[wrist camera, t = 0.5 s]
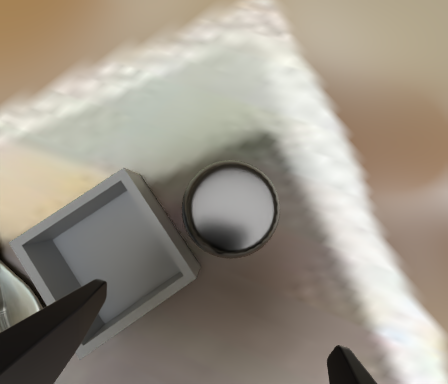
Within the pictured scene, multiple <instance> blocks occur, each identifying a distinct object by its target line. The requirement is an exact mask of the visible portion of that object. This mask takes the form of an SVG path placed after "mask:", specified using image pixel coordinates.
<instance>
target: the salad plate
mask: <svg viewBox="0 0 448 384" xmlns="http://www.w3.org/2000/svg"><path fill="white" fill-rule="evenodd" d="M41 309H43V307H42V305H41V304H40V302H39V300H38V298H37V297H36V295H35V294H34V293H33V291H32V290H31V289H30V287H29V286H28V285H27V284H26V283H25V282H24V281H23V280H22V279H20V278H19V277H18V276H17V275H16V274H15V273H14V272H13V271H11V270H10V269H9V268H8V267H7V266H6V265H5V264H4V263H3V262H2V261H1V260H0V332H2V331H4V330H6V329H7V328H9V327H11V326H13V325H14V324H16V323H18V322H20V321H22V320H23V319H25V318H27V317H29V316H30V315H32V314H34V313H36V312H38V311H39V310H41Z"/></svg>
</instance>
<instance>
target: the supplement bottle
mask: <svg viewBox="0 0 448 384" xmlns="http://www.w3.org/2000/svg"><path fill="white" fill-rule="evenodd" d="M182 216H183V221H184V225H185V228H186V230H187V232H188V234H189V236H190V237H191V238H192V240H193V241H194V242H195V243H196V244H197V245H198V246H199V247H200V248H201V249H203V250H204V251H206V252H208V253H210V254H212V255H214V256H217V257H221V258H230V259H231V258H241V257H245V256H248V255H250V254H253V253H255V252H256V251H258V250H259V249H261V248H262V247H263V246H264V245H265V244H266V243H267V242H268V241H269V240H270V238H271V237H272V235H273V234H274V232H275V230H276V228H277V225H278V221H279V216H280V203H279V198H278V194H277V191H276V189H275V187H274V185H273V183H272V182H271V180H270V179H269V178H268V177H267V176H266V175H265V174H264V173H263V172H262V171H261V170H259V169H258V168H256V167H255V166H253V165H251V164H248V163H246V162H242V161H236V160H226V161H220V162H216V163H213V164H211V165H209V166H207V167H205V168H204V169H202V170H201V171H200V172H199V173H197V174H196V175H195V176H194V178H193V179H192V180H191V182H190V183H189V185H188V187H187V189H186V191H185V194H184V197H183V202H182Z"/></svg>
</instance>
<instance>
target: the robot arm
mask: <svg viewBox="0 0 448 384" xmlns="http://www.w3.org/2000/svg"><path fill="white" fill-rule="evenodd" d="M106 297H107V282H106V281H104V280H100V279H94V280H92V281H91V282H89V283H87V284H85V285H84V286H82V287H80V288H78V289H76V290H75V291H73V292H71V293H69V294H68V295H66V296H64V297H62V298H61V299H59V300H57V301H55V302H53V303H52V304H50V305H48V306H46V307H45V308H43V309H41V310H39V311H38V312H36V313H34V314H32V315H30V316H29V317H27V318H25V319H23V320H22V321H20V322H18V323H16V324H14V325H13V326H11V327H9V328H7V329H6V330H4V331H2V332H0V384H53V383H54V382H55V381H56V379H57V378H58V376H59V375H60V373H61V372H62V371H63V369H64V368H65V366H66V365H67V363H68V362H69V361H70V359H71V358H72V356H73V355H74V353H75V352H76V350H77V349H78V347H79V346H80V344H81V343H82V341H83V339H84V338H85V336H86V334H87V332H88V331H89V329H90V327H91V325H92V324H93V322H94V320H95V318H96V317H97V315H98V313H99V311H100V310H101V308H102V306H103V304H104V302H105V300H106ZM327 367H328V375H329V383H330V384H377V383H376V382H375V380H374V379H373V378H372V376H371V375H370V374H369V373H368V371H367V370H366V369H365V368H364V366H363V365H362V364H361V363H360V361H359V360H358V359H357V357H356V356H355V355H354V354H353V352H352V351H351V350H350V349H349V348H347V347H343V346H340V345H337V346H336V347H335V348H334V350H333V351H332V352H331V354H330V355H329V357H328V359H327Z"/></svg>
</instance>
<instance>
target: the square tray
mask: <svg viewBox="0 0 448 384" xmlns="http://www.w3.org/2000/svg"><path fill="white" fill-rule="evenodd" d="M9 244H10V246H11V247H12V249H13V251H14V252H15V254H16V256H17V257H18V259H19V261H20V262H21V264H22V266H23V267H24V269H25V271H26V272H27V274H28V275H29V277H30V279H31V280H32V282H33V284H34V285H35V287H36V289H37V290H38V292H39V294H40V295H41V297H42V299H43V300H44V302H45V304H46V305H47V306H48V305H50V304H52V303H53V302H55V301H57V300H59V299H61V298H62V297H64V296H66V295H68V294H69V293H71V292H73V291H75V290H76V289H78V288H80V287H82V286H84V285H85V284H87V283H89V282H91V281H92V280H94V279H100V280H104V281H106V282H107V297H106V300H105V302H104V304H103V306H102V308H101V310H100V311H99V313H98V315H97V317H96V318H95V320H94V322H93V324H92V325H91V327H90V329H89V331H88V332H87V334H86V336H85V338H84V339H83V341H82V343H81V344H80V346H79V347H78V349H77V350H76V352H75V353H76V355H77V356H78V358H79V360H81V359H82V358H84V357H85V356H86V355H88V354H89V353H91V352H92V351H94V350H95V349H96V348H98V347H99V346H101V345H102V344H103V343H105V342H106V341H108V340H109V339H111V338H112V337H113V336H115V335H116V334H118V333H119V332H121V331H122V330H123V329H125V328H126V327H128V326H129V325H131V324H132V323H133V322H135V321H136V320H138V319H139V318H141V317H142V316H143V315H145V314H146V313H148V312H149V311H151V310H152V309H153V308H155V307H156V306H158V305H159V304H160V303H162V302H163V301H165V300H166V299H168V298H169V297H170V296H172V295H173V294H175V293H176V292H178V291H179V290H180V289H182V288H183V287H185V286H186V285H188V284H189V283H190V282H192V281H193V280H195V279H196V278H197V275H198V273H199V270H200V267H201V266H200V264H199V263H198V261H197V260H196V258H195V257H194V255H193V254H192V252H191V251H190V249H189V248H188V246H187V245H186V243H185V242H184V240H183V239H182V237H181V235H180V234H179V232H178V231H177V229H176V228H175V226H174V225H173V223H172V222H171V220H170V219H169V217H168V216H167V214H166V213H165V211H164V210H163V208H162V207H161V205H160V204H159V202H158V201H157V199H156V198H155V196H154V195H153V193H152V192H151V190H150V189H149V187H148V186H147V184H146V183H145V181H144V180H143V178H142V177H141V175H139V174H137V173H135V172H132V171H130V170H128V169H125V168H123V169H121V170H120V171H118V172H117V173H115V174H113V175H112V176H110V177H109V178H107V179H106V180H104V181H103V182H101V183H100V184H98V185H97V186H95V187H94V188H92V189H90V190H89V191H87V192H86V193H84V194H83V195H81V196H80V197H78V198H77V199H75V200H74V201H72V202H71V203H69V204H67V205H66V206H64V207H63V208H61V209H60V210H58V211H57V212H55V213H54V214H52V215H51V216H49V217H48V218H46V219H44V220H43V221H41V222H40V223H38V224H37V225H35V226H34V227H32V228H31V229H29V230H28V231H26V232H25V233H23V234H21V235H20V236H18V237H17V238H15V239H14V240H12V241H11V242H9Z"/></svg>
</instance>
